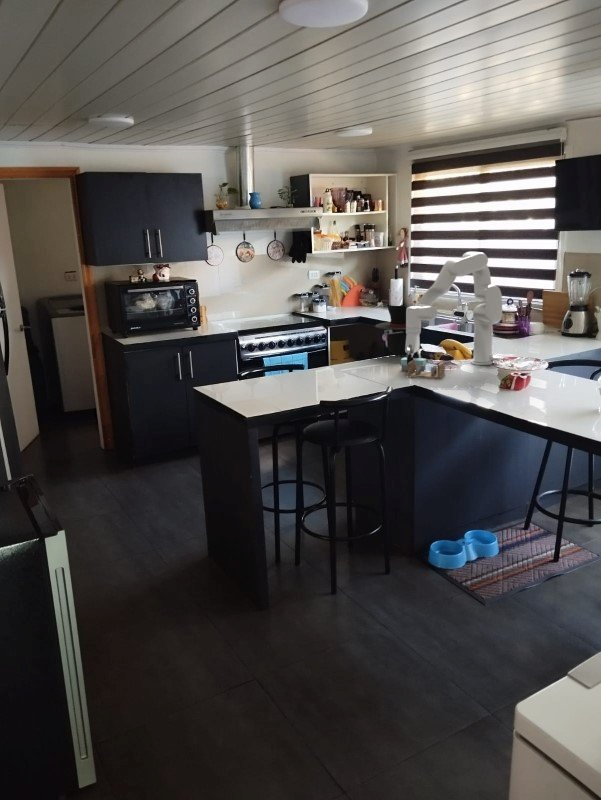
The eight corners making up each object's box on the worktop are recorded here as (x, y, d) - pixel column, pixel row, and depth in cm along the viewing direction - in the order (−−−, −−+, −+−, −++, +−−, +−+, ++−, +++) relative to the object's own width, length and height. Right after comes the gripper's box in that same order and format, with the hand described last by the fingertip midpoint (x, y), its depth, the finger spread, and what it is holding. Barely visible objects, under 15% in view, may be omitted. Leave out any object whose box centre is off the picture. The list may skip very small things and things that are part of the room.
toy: (376, 351, 383) (376, 302, 375) (428, 350, 377) (428, 300, 370) (374, 361, 354) (373, 308, 346) (429, 360, 348) (429, 307, 340)
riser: (425, 370, 326) (425, 364, 325) (423, 371, 323) (423, 365, 323) (403, 368, 332) (403, 363, 331) (401, 370, 329) (401, 364, 328)
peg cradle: (445, 375, 314) (445, 361, 312) (440, 379, 306) (440, 365, 304) (412, 373, 321) (412, 359, 319) (406, 376, 314) (406, 363, 312)
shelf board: (426, 364, 326) (426, 358, 326) (423, 366, 322) (423, 360, 321) (404, 362, 332) (404, 357, 331) (400, 365, 327) (400, 359, 326)
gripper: (411, 327, 331) (411, 359, 335) (401, 332, 316) (400, 365, 321) (425, 328, 328) (424, 360, 332) (415, 333, 313) (414, 366, 317)
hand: (412, 362), depth 326 cm, fingers open, 9 cm apart
